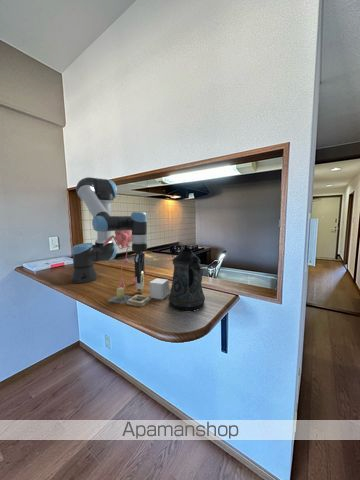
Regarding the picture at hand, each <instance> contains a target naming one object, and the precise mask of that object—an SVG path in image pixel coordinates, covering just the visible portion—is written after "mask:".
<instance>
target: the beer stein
mask: <svg viewBox="0 0 360 480" xmlns="http://www.w3.org/2000/svg"><path fill="white" fill-rule="evenodd" d="M175 256H176V257H175V258H173V259H172V265H173V273H172V281H171V289H170V291H169V295H168V296H167V299H168V303H169V307H170V308H172V309H173V310H175V311H177V310H178V311H177V312H182V311H191V312H195V311H194V310H196V311H198V310H197V309H199V310H200V308H201V307H202V308H203V307H204V305H205V301H206V296H205V294H204V291H203V287H202V282H203V270H202V267H201V265H200V264H201V259H200V257H198V256H197V254H195V253H194V252H193V250H192V249H181V252H180V253H179V254H177V255H175ZM202 308H201V309H202Z"/></svg>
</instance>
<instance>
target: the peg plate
mask: <svg viewBox="0 0 360 480" xmlns="http://www.w3.org/2000/svg"><path fill="white" fill-rule="evenodd" d="M115 290H116V295H115V296H113V297H112V298H109V299H108V300H107V302H109V303H110V302H111V303H115V304H121V305H123V304H124V303H127V300H128V299H130V298H132V297H133V295H125V288H124V286H123V287H122V286H121V287H120V286H119V288H116V289H115Z"/></svg>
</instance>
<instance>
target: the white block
mask: <svg viewBox="0 0 360 480" xmlns="http://www.w3.org/2000/svg"><path fill="white" fill-rule="evenodd" d="M169 281H170V280H169V279H166V278H158V277H157V278H154V279H153V280H151V281H149V296H150V297H151V299H157V300H164V299H165V298H166V297H169V294H170V287H169V286H170V282H169Z"/></svg>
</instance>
